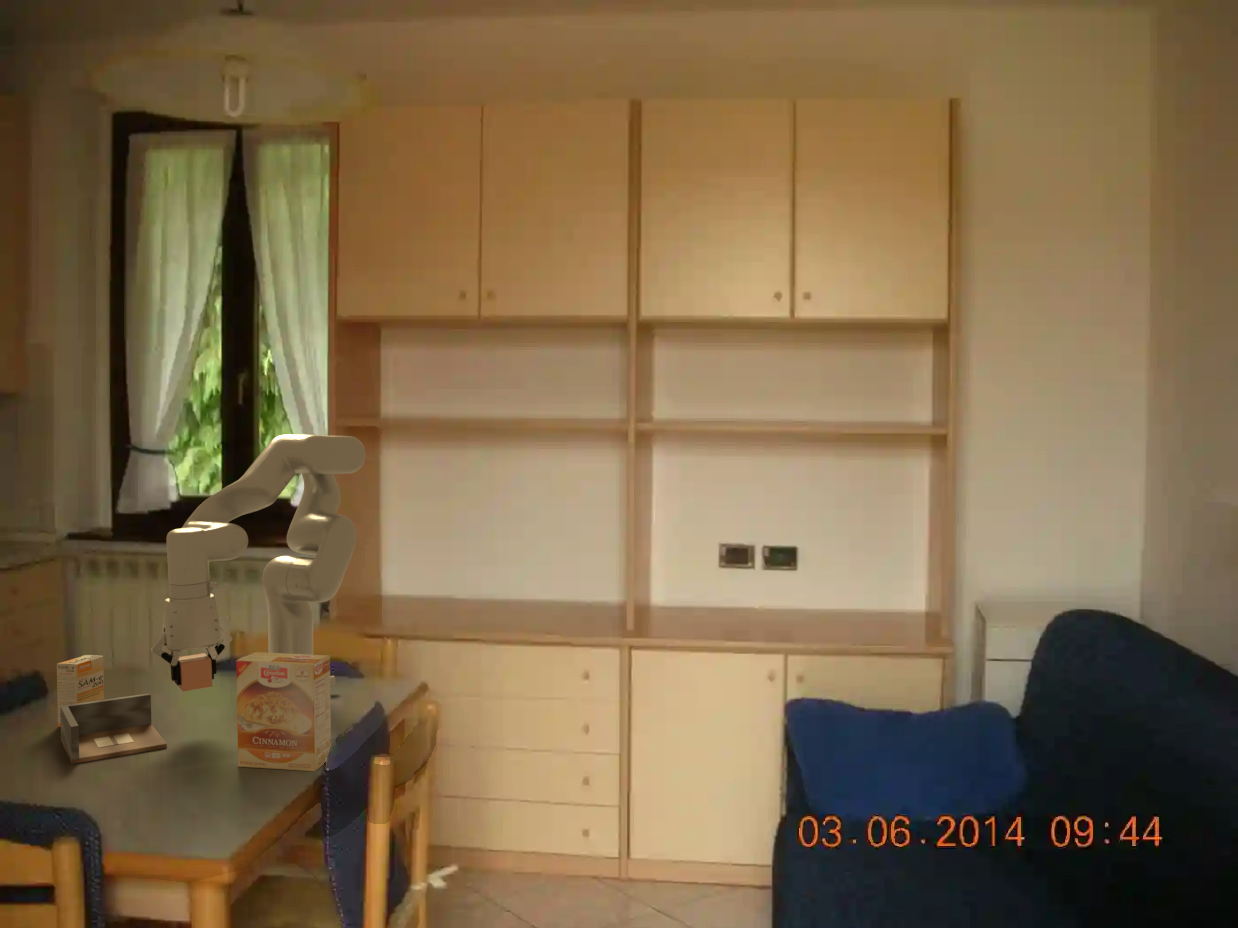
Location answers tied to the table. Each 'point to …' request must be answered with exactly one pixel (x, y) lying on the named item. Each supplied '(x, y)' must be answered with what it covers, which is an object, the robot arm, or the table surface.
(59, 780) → the table surface
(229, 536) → the robot arm
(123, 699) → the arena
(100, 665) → the supplement box
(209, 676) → the cube
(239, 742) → the coffeecake box
